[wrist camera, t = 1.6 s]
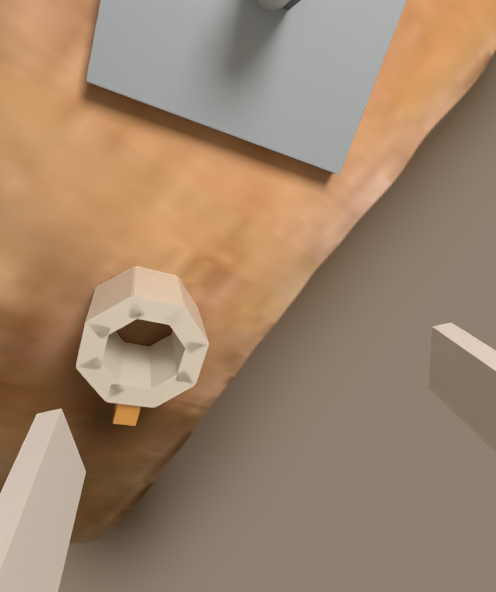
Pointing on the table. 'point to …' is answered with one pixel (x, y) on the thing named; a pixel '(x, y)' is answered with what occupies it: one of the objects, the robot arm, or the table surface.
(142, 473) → the table surface
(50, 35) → the table surface
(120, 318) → the beige octagonal hollow block
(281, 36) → the shaft plate
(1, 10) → the table surface
